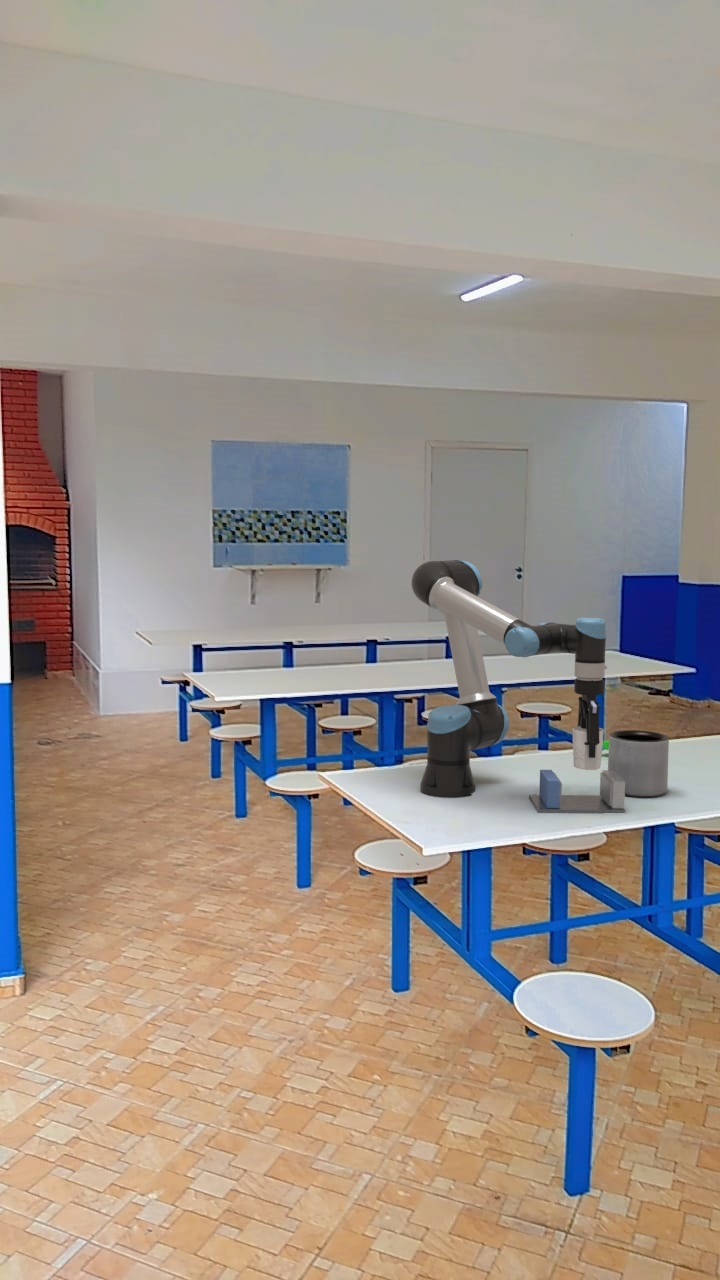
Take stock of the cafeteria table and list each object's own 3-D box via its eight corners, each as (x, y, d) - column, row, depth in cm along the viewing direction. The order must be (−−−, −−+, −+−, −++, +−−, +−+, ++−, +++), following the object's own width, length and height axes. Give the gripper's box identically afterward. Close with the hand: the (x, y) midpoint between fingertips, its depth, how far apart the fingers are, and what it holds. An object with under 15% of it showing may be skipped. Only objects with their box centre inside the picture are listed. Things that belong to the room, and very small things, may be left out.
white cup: (573, 770, 257) (574, 731, 256) (569, 763, 264) (571, 725, 263) (604, 771, 256) (605, 732, 255) (600, 764, 264) (601, 726, 263)
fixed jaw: (609, 808, 255) (610, 781, 254) (599, 796, 267) (600, 770, 266) (624, 808, 255) (625, 781, 254) (612, 796, 267) (613, 770, 266)
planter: (649, 782, 287) (651, 728, 285) (678, 797, 271) (680, 740, 269) (596, 785, 283) (598, 730, 281) (623, 800, 268) (625, 742, 266)
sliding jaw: (547, 807, 255) (547, 780, 255) (539, 795, 267) (540, 769, 267) (561, 808, 255) (562, 781, 255) (552, 795, 267) (553, 769, 266)
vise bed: (537, 813, 255) (537, 809, 254) (529, 798, 268) (529, 794, 268) (625, 814, 254) (625, 810, 254) (611, 799, 268) (611, 795, 268)
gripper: (613, 684, 247) (611, 775, 250) (595, 672, 268) (593, 757, 270) (583, 684, 248) (580, 775, 250) (567, 672, 268) (565, 757, 270)
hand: (587, 765), depth 260 cm, fingers closed on white cup, 7 cm apart
